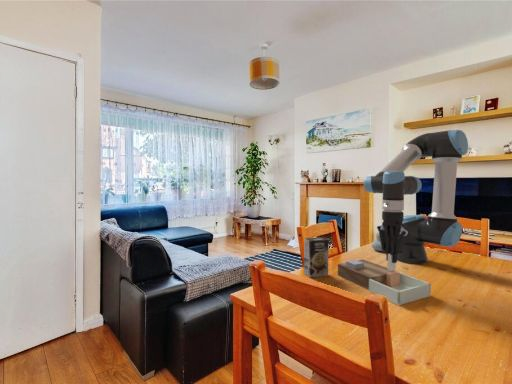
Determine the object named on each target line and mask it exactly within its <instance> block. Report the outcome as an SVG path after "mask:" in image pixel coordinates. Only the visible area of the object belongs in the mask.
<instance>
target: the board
mask: <svg viewBox="0 0 512 384" xmlns="http://www.w3.org/2000/svg"><path fill="white" fill-rule="evenodd" d="M356 260H357V259H356ZM357 261H360V262H362V263H364V268H360V269H353V268H350V267H348V266H346V262H341V263H338V264H337V276H338V277H340V278H343V279H344V280H347V281H349V282H352V283H354V284H356V285H358V286H360V287H362V288H363V289H365V290H368V291H369V279H372V280H374V281H376V282H379V283H381V284H383V285H386V276H387V273H389V272H394V271H396V272H398V271H397V270H393V271H389V270H387V267H386V266H383V265H380V264H377V263H375V262H371V261H369V260H367V259H358V260H357Z"/></svg>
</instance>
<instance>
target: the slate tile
mask: <svg viewBox="0 0 512 384" xmlns="http://www.w3.org/2000/svg"><path fill="white" fill-rule="evenodd" d="M345 263H346V266H348V267H350V268H353V269H360V268H364V263H362V262H360V261H357V259H350V260H346V261H345Z"/></svg>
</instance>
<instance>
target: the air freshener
mask: <svg viewBox="0 0 512 384" xmlns="http://www.w3.org/2000/svg"><path fill="white" fill-rule="evenodd" d="M375 236H376V238H375V240H373V241H372V243H371V248H372V249H373V250H375V251H377V252H382V253H386V251H384V250H382V247H381V241H380V235H379V232H377V233H375Z"/></svg>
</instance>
